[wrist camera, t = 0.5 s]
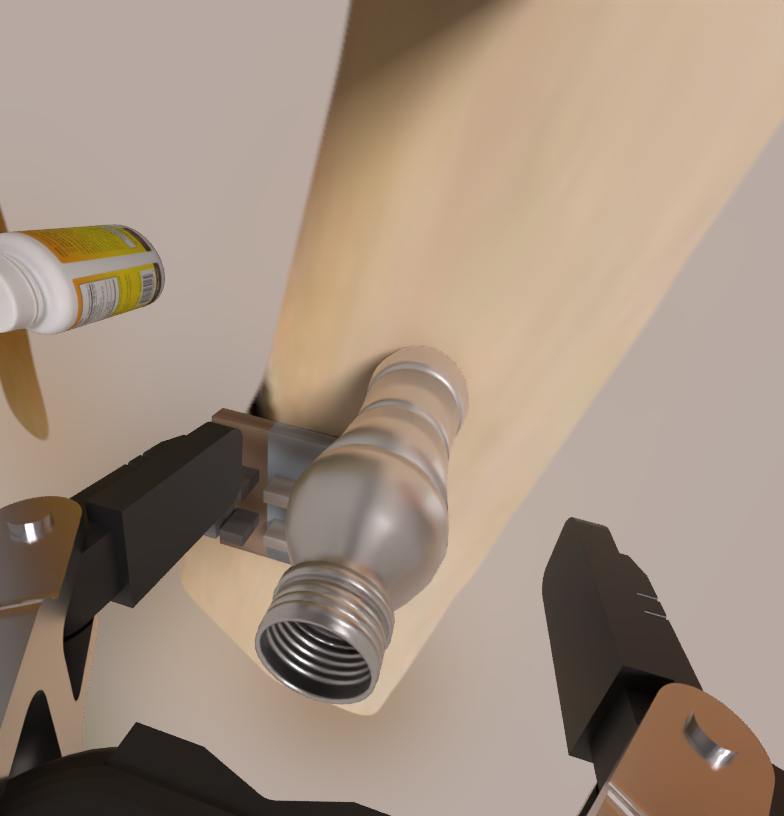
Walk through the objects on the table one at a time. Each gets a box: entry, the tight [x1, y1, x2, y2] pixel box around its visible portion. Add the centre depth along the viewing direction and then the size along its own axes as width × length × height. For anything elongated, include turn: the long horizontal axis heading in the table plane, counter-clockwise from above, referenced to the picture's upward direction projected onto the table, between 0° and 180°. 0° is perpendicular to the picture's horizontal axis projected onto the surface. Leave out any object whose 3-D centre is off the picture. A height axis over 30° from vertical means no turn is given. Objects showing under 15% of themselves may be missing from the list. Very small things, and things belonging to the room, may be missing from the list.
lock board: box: [204, 408, 338, 564], centre depth 34 cm, size 14×15×4 cm
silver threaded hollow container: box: [255, 346, 469, 704], centre depth 20 cm, size 6×7×20 cm
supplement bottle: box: [0, 225, 165, 334], centre depth 25 cm, size 6×6×10 cm
